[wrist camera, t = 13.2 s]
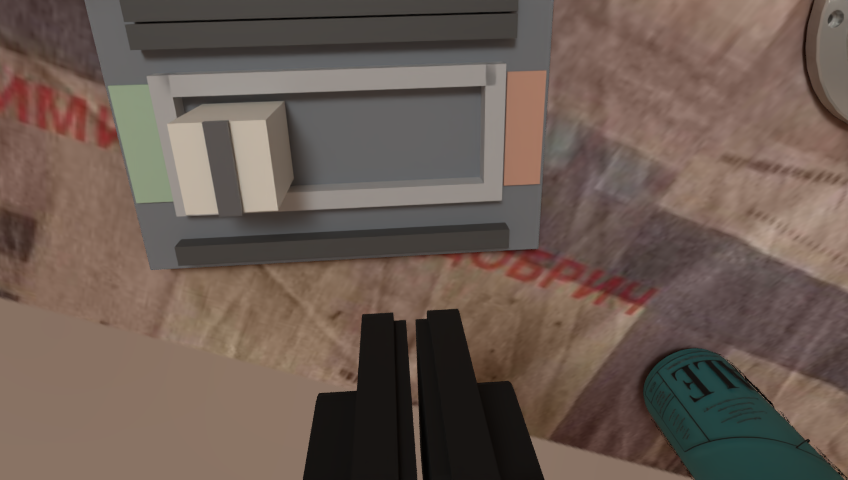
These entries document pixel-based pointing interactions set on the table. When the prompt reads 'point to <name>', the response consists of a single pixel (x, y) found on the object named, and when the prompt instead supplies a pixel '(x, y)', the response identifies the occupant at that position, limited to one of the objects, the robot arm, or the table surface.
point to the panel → (339, 121)
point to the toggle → (232, 157)
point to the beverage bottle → (726, 423)
